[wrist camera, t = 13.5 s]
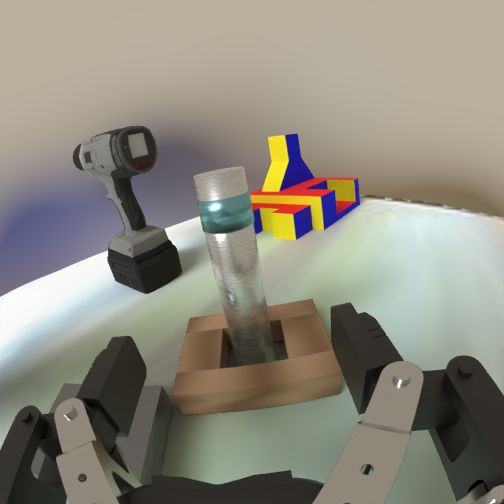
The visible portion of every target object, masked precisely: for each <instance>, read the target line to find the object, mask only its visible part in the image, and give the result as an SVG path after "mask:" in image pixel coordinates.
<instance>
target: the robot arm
mask: <svg viewBox="0 0 504 504" xmlns="http://www.w3.org/2000/svg"><path fill="white" fill-rule="evenodd" d="M331 342H332V347H333V351H334V354H335V356H336V359H337V361H338V363H339V366H340V368H341V371H342V373H343V376H344V378H345V381H346V383H347V386H348V388H349V391H350V393H351V396H352V398H353V401H354V403H355V406H356V408H357V411H358V413H359V415H360V414H363V413H365V414H364V416H363V419H362V421H361V422H359V423H358V424H357V426H356V428H355V429H354V431H353V433H352V435H351V438H350V439H349V441H348V443H347V445H346V447H345V449H344V451H343V453H342V455H341V457H340V459H339V460H338V462H337V464H336V466H335V468H334V469H333V471H332V473H331V474H330V476H329V478H328V480H327V481H326V483H325V484H324V483H321V482H318V481H314V480H310V479H303V478H292V474H291V470H288V471H282V472H275V473H267V474H258V475H253V476H249V477H246V478H243V479H239V480H235V481H232V482H228V483H224V484H219V485H216V484H210V483H205V482H201V481H197V480H192V479H188V478H185V477H168V476H155V475H152V481H151V484H147V485H143V486H142V484H141V483H140V482H139V481H138V480H137V478H136V477H135V475H134V474H133V472H132V470H131V468H130V466H129V465H128V463H127V461H126V459H125V457H124V455H123V453H122V451H121V449H120V447H119V445H118V444H117V443H116V438H117V437H128V436H129V432H130V429H131V425H132V422H133V418H134V415H135V411H136V408H137V405H138V401H139V398H140V395H141V392H142V388H143V385H144V382H145V379H146V366H145V363H144V361H143V359H142V357H141V355H140V353H139V351H138V349H137V347H136V345H135V343H134V340H133V339H132V337H130V336H120V337H113V338H112V339H111V341H110V342H109V344H108V346H107V348H106V349H104V350H103V351H102V352H101V353H100V354H99V355H98V356H97V357H96V359H95V361H94V362H93V364H92V367H91V368H90V370H89V372H88V374H87V376H86V378H85V380H84V382H83V384H82V386H81V388H80V390H79V392H78V394H77V396H76V398H71V399H68V400H65V401H63V402H62V403H61V404H60V405H59V406H58V407H57V409H56V411H55V413H50V414H42V413H41V412H40V411H39V410H38V408H37V407H35V406H26V407H24V408H23V409H21V410H20V411H19V413H18V414H17V416H16V418H15V420H14V422H13V424H12V426H11V428H10V430H9V432H8V434H7V436H6V439H5V441H4V443H3V445H2V448H1V450H0V504H66V500H67V497H68V500H69V503H70V504H384V503H385V501H386V499H387V497H388V495H389V492H390V490H391V488H392V486H393V483H394V481H395V478H396V476H397V473H398V471H399V468H400V466H401V463H402V460H403V457H404V455H405V452H406V449H407V446H408V443H409V440H410V436H411V432H410V431H417V430H426V429H428V430H429V433H430V435H431V437H432V439H433V442H434V444H435V446H436V449H437V451H438V454H439V456H440V458H441V461H442V463H443V466H444V468H445V471H446V474H447V476H448V479H449V481H450V484H451V487H452V490H453V492H454V495H455V498H456V501H457V502H456V503H455V504H504V395H503V394H502V392H501V391H500V390H499V388H498V387H497V385H496V384H495V382H494V381H493V380H492V378H491V377H490V375H489V374H488V373H487V371H486V370H485V369H484V367H483V366H482V364H481V363H480V362H479V361H478V360H477V359H475V358H473V357H470V356H457V357H455V358H453V359H452V360H450V362H449V363H448V365H447V368H446V369H443V370H434V371H421V369H420V368H419V367H418V366H417V365H415V364H413V363H410V362H406V361H404V360H403V359H402V357H401V356H400V354H399V353H398V351H397V350H396V348H395V347H394V345H393V344H392V342H391V341H390V339H389V338H388V336H386V333H385V332H384V330H383V329H381V326H380V325H379V323H378V322H377V320H376V319H375V318H374V317H372V316H371V315H369V314H367V313H366V312H363V313H359V314H358V313H357V312H356V310H355V309H354V307H353V305H352V304H351V303H345V304H341V305H336V306H332V307H331ZM37 449H38V450H40V451H41V452H42V453H43V454H44V455H45V458H44V461H43V464H42V467H41V470H40V473H39V476H38V479H37V478H36V477H35V476H34V475H33V473H32V470H31V466H32V462H33V460H34V457H35V454H36V452H37Z"/></svg>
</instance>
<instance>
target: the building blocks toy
mask: <svg viewBox="0 0 504 504" xmlns="http://www.w3.org/2000/svg"><path fill="white" fill-rule="evenodd" d="M268 141H269V147H270V153H271V159H272V164H271V166H270V169H269V172H268V175H267V178H266V180H265V183H264V186H263V188H262V189H259V190H257V191H254V192H251V193H250V196H251V202H252V208H253V214H254V222H253V224H254V230H255V234H257V233H259V232H261V231H263V230H264V231H273V232H274V237H277V238H284V239H292V240H297V239H298V238H300V237H301V236H303V235H304V234H306V233H308V232H309V231H311V230H312V229H318V230H325V229H326V228H328V227H329V226H330V225H332V224H333V223H335V222H336V221H337V220H339V219H340V218H342V217H343V216H344V215H346V214H347V213H349V212H350V211H351V210H353V209H354V208H356V207H357V206H358V205H360V199H359V185H358V178H314V177H313V175H312V173H311V172H310V170H309V169H308V167H307V166H306V164H305V163H304V161H303V160H302V158H301V154H300V147H299V140H298V134H289V135H281V136H274V137H268Z"/></svg>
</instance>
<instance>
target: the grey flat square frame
mask: <svg viewBox="0 0 504 504" xmlns="http://www.w3.org/2000/svg"><path fill="white" fill-rule="evenodd" d="M81 386H82V385H79V384H66V383H65V384H64V385H63V387H62V389H61V391H60V393H59V395H58V396H57V398H56V400H55V402H54V404H53V406H52V408H51V410H50V412H49V413H48V414H50V413H55V411H56V409H57V407H58V406H59V405H60V404H61V403H62V402H63V401H65V400H68V399H71V398H76V396H77V394H78V392H79V390H80V388H81ZM172 408H173V405H172V403H171V401H170V399H169V398H168V396H167V394H166V392H165V390H164V389H163V387H162V386H143V388H142V392H141V395H140V398H139V401H138V405H137V408H136V411H135V415H134V418H133V422H132V425H131V429H130V432H129V436H128V437H117V438H116V443H117V444H118V445H119V447H120V449H121V451H122V453H123V455H124V457H125V459H126V461H127V463H128V465H129V466H130V468H131V470H132V472H133V474H134V475H135V477H136V478H137V480H138V481H139V482H140V483H141V484H142V486H143V485H147V484H151V481H152V475H155V476H160V475H161V469H162V463H163V457H164V451H165V446H166V440H167V435H168V429H169V424H170V419H171V414H172ZM44 458H45V455H44V454H43V453H42V452H41V451H40V450H38V449H37V452H36V454H35V457H34V460H33V462H32V466H31V470H32V473H33V475H34V476H35V477H36V478H37V479H38V476H39V473H40V470H41V467H42V464H43V461H44Z"/></svg>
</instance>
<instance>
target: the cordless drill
mask: <svg viewBox="0 0 504 504" xmlns="http://www.w3.org/2000/svg"><path fill="white" fill-rule="evenodd" d="M156 158H157V149H156V141H155V139H154V137H153V136H152V134H151V132H150V130H149V129H148V128H146V127H144V126H130V127H126V128H122V129H117V130H112V131H109V132H105V133H102V134H99V135H96V136H94V137H92V138H90V139H88V140H87V141H84V142H83V143H81V144H80V145H78V146H77V148H76V149H75V150H74V154H73V161H74V164H75V165H76V167H77V168H79V169H80V170H84V171H87V172H88V173H89V174H90V176H91V177H92V178H95V179H99V180H101V181H102V182H103V183H104V185H105V186H106V187H107V189H108V192H109V193H108V194H107V197H108V199H110V200H112V201H113V202H114V203H115V205H116V207H117V209H118V211H119V213H120V215H121V218H122V221H123V224H124V231H122V232H120V233H117V234H115V236H113V237H112V239H111V241H110V244H109V248H108V257H107V258H108V263H109V266H110V268H111V271H112V273H113V276H114V278H115V281H117V282H119V283H121V284H124V285H126V286H128V287H130V288H133V289H135V290H137V291H140V292H142V293H146V294H147V293H149V292H151V291H153V290H155V289H157V288H158V287H160V286H162V285H164V284H166V283H168V282H170V281H171V280H172V279H174V278H175V277H176V276H178V275H179V274H180V273H181V272H182V269H181V265H180V260H179V256H178V251H177V248H176V247H175V245H173V244H172V242H171V241H170V240H169V239H168V237H167V234H166V232H165V230H164V229H162V228H158V227H155V226H149V225H146V222H145V217H144V215H143V213H142V210H141V208H140V206H139V204H138V202H137V200H136V198H135V196H134V193H133V191H132V186H131V182H130V181H131V177H132V176H134V175H138V174H141V173H145V172H148V171H150V170H151V169H152V168H153V166H154V164H155V162H156Z"/></svg>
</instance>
